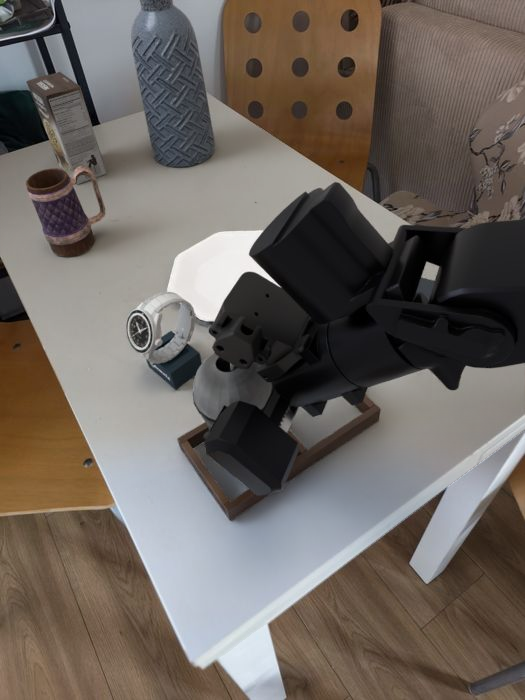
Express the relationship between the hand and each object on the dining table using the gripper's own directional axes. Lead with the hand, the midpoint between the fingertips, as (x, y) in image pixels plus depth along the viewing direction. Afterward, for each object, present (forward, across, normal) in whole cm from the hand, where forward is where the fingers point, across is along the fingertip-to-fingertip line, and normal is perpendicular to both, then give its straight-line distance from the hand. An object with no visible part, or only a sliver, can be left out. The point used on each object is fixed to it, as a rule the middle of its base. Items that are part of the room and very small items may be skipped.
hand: (230, 398), depth 47 cm
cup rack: (+5, -4, +9) cm, 11 cm away
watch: (+16, -8, -2) cm, 18 cm away
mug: (+36, -27, -21) cm, 49 cm away
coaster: (-2, -30, +16) cm, 34 cm away
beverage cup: (+7, 0, +8) cm, 10 cm away
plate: (+16, -26, -1) cm, 31 cm away
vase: (+35, -58, -20) cm, 70 cm away
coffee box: (+46, -46, -31) cm, 72 cm away
